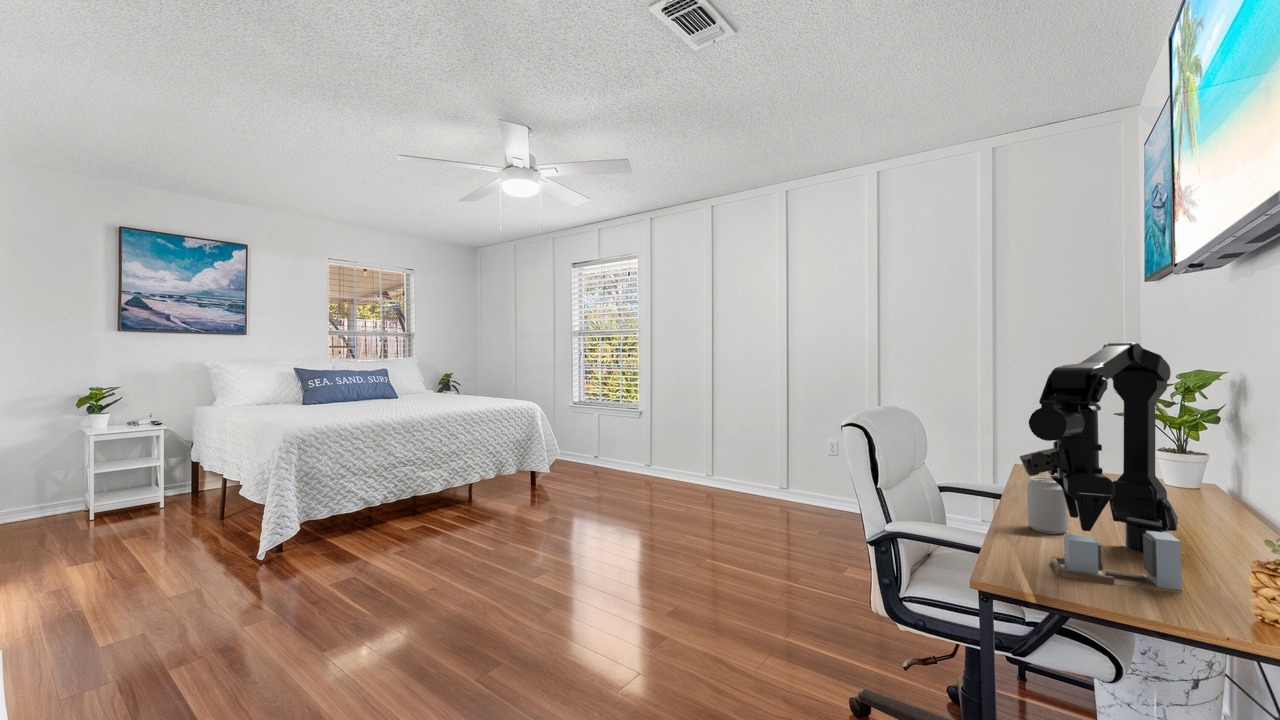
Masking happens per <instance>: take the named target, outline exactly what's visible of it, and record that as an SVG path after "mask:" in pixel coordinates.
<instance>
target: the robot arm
mask: <svg viewBox="0 0 1280 720" xmlns="http://www.w3.org/2000/svg"><path fill="white" fill-rule="evenodd" d="M1171 373H1172V372H1171V367H1170V365H1169V363H1168V362H1167V360H1166V359H1164V358H1163V356H1162V355H1161V354H1158V353H1156V352H1153V351H1151V350H1148V349H1147V348H1144V347H1143V346H1141V344H1139V343H1137V342H1133V341H1123V342H1119V341H1118V342H1109V343H1106V344H1104V345H1103V346H1102V348H1101V349H1100V350H1098V351H1096V352H1095V353H1093V354H1092V355H1090V356H1088V357H1087V358H1086V359H1084V360H1082V361H1081V362H1078V363H1074V364H1073V363H1072V364H1064V365H1061V366H1056V367H1054V368H1053V369H1052V371H1051V372H1050V374H1049V375H1048V376H1047V379H1046V382H1045V385H1044V388H1043V390H1042V393H1041V394H1040V395H1041V396H1040V397H1039V405H1040V408H1037V409H1035V410H1034V411H1033V412H1032V413H1031V415H1030V417H1029V419H1028V427H1029V430H1030V432H1032V434H1033V435H1034V436H1035V437H1036V438H1039V439H1040V440H1043V441H1047V442H1051V441H1052V442H1053V447H1052V448H1048V449H1043V450H1038V451H1034V452H1030V453H1027V454H1022V455H1019V459H1020V461H1021V464H1022V466H1023V468H1024V470H1025V472H1026V474H1027V475H1028V476H1029V477H1031V476H1032V477H1035V476H1038V475H1040V474H1042V473H1046V472H1047V473H1048V474H1049V475H1050V477H1049V478H1052V479H1053V480H1054V481H1055V482H1057V483H1058V484H1059V485H1060V486H1061V488H1062V491H1063V494H1064V498H1065V501H1066V505H1067V508H1068V516H1069V517H1070V518H1074V519H1077V518H1078V520H1079V524H1080V527H1081V530H1082V531H1084V532H1091V531H1092V529H1093V528H1094V525H1095V524H1096V522H1097V520H1098V519H1099V517H1100V516H1101V514H1102V512H1103V510H1105V507H1106V506H1107V504H1108V503H1109V507H1110V512H1111V515H1112V516H1111V517H1112V521H1113V522H1120V523H1122V524H1123V523H1124V524H1125V525H1124V527H1125V545H1119V548H1127V549H1130V550H1134V551H1137V552H1139V553H1141V554H1143V534H1146V531H1155V532H1170V531H1171V532H1177V531H1178V525H1179V524H1178V523H1179V522H1178V521H1179V520H1178V518H1179V517H1178V515H1177V513H1176V512H1175V510H1174V508H1173V506H1172V504H1171V502H1170V501H1169V499H1168V493H1167V489H1166V488H1165V486H1164V485H1163V484H1162V482H1161V481H1160V480H1159V479H1158V477H1157V476H1156V403H1157V401H1158V400H1160V398H1161V397H1162V396H1163V395H1164V393H1165V392H1166V391H1167V389H1168V381H1170V379H1171ZM1109 379H1110V380H1112V387H1113V389H1114V390H1115V392H1116V393H1117V394H1118V396H1119V398H1121V400H1122V401H1123V470H1122V472H1123V473H1122V474H1121V475H1120V476H1119V478H1117V480H1111V478H1109V477H1108V476H1106V475H1104V474H1103V468H1102V467H1101V466H1100V452H1102V451H1103V445H1102V444H1100V442H1099V413H1098V412H1099V411H1101V409H1102V407H1101V406H1100V404H1098V403H1100V401H1102V400H1101V399H1102V398H1103V397H1104V394H1105V392H1106V391H1107V390H1108V386H1109V385H1108V384H1109V383H1108V380H1109Z"/></svg>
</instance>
